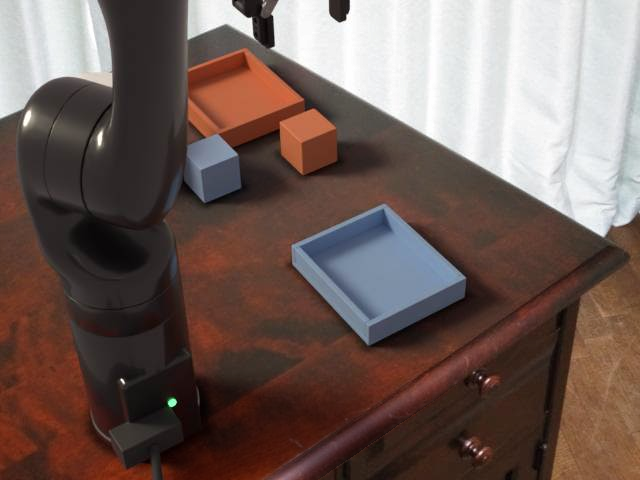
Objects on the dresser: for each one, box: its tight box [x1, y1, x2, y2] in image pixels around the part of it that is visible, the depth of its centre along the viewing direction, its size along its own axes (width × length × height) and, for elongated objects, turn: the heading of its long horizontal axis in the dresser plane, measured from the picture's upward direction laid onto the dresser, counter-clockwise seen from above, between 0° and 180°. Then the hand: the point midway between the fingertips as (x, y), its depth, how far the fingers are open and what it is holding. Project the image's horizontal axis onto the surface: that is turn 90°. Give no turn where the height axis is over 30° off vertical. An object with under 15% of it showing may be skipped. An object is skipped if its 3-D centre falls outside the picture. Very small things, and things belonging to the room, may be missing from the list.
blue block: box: [183, 134, 242, 204], centre depth 122 cm, size 4×4×4 cm
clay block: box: [279, 108, 338, 176], centre depth 125 cm, size 4×4×4 cm
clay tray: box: [188, 47, 306, 149], centre depth 133 cm, size 13×11×3 cm
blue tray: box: [291, 203, 467, 347], centre depth 111 cm, size 13×11×3 cm
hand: (302, 31), depth 116 cm, fingers open, 8 cm apart
